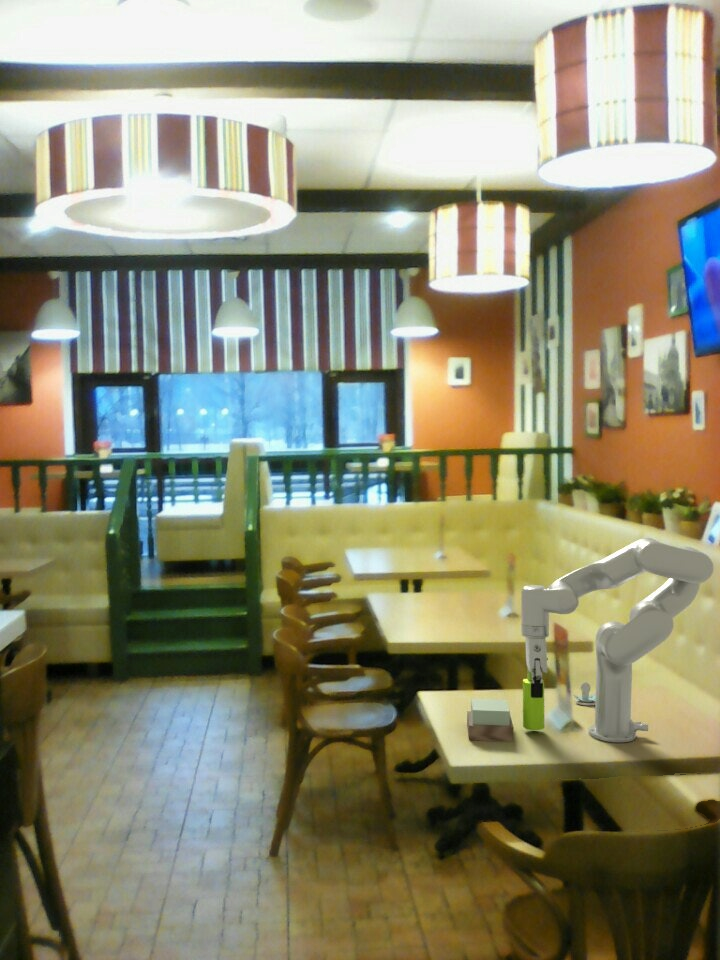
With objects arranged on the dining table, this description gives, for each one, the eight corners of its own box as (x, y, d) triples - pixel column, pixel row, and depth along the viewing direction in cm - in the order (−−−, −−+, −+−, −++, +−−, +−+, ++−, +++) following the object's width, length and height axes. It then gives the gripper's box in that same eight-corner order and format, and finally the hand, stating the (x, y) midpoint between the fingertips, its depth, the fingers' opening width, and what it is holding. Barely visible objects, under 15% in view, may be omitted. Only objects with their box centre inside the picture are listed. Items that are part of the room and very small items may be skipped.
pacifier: (600, 707, 268) (594, 700, 274) (601, 687, 267) (595, 680, 273) (577, 707, 268) (571, 700, 274) (577, 687, 267) (572, 680, 273)
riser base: (509, 726, 249) (509, 712, 249) (513, 741, 237) (513, 727, 237) (467, 724, 250) (467, 711, 250) (468, 739, 238) (469, 725, 238)
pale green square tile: (506, 713, 248) (506, 699, 248) (509, 725, 238) (509, 711, 238) (471, 712, 249) (471, 698, 249) (472, 724, 239) (472, 710, 239)
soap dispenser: (548, 730, 241) (548, 659, 240) (523, 729, 242) (522, 659, 241) (547, 723, 247) (547, 654, 246) (522, 722, 248) (522, 653, 247)
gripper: (553, 637, 234) (553, 703, 235) (544, 623, 251) (545, 684, 252) (524, 637, 235) (525, 703, 236) (518, 623, 252) (518, 684, 253)
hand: (535, 693), depth 244 cm, fingers closed on soap dispenser, 5 cm apart
